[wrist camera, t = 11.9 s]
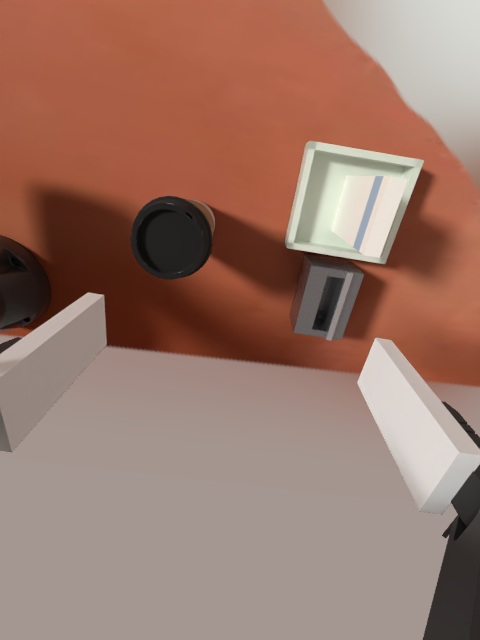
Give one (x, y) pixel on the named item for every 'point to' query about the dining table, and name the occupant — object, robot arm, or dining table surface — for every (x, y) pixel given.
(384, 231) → the white striped flat box
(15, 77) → the dining table surface
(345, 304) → the dispenser
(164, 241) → the coffee cup
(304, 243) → the tray
